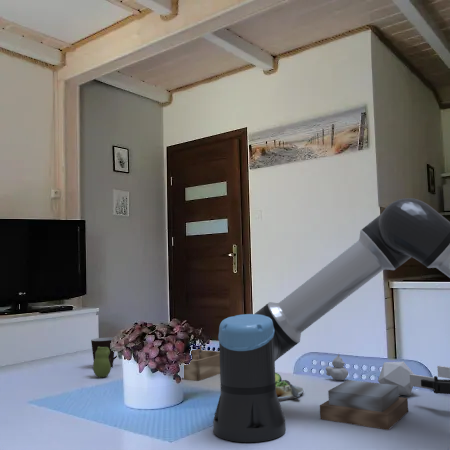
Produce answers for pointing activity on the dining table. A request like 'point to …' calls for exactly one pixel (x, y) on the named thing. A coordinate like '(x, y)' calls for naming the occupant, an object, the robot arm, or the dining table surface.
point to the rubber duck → (337, 369)
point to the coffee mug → (103, 343)
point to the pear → (102, 362)
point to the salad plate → (286, 389)
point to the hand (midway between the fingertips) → (424, 375)
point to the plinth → (365, 414)
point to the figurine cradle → (203, 366)
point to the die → (396, 376)
